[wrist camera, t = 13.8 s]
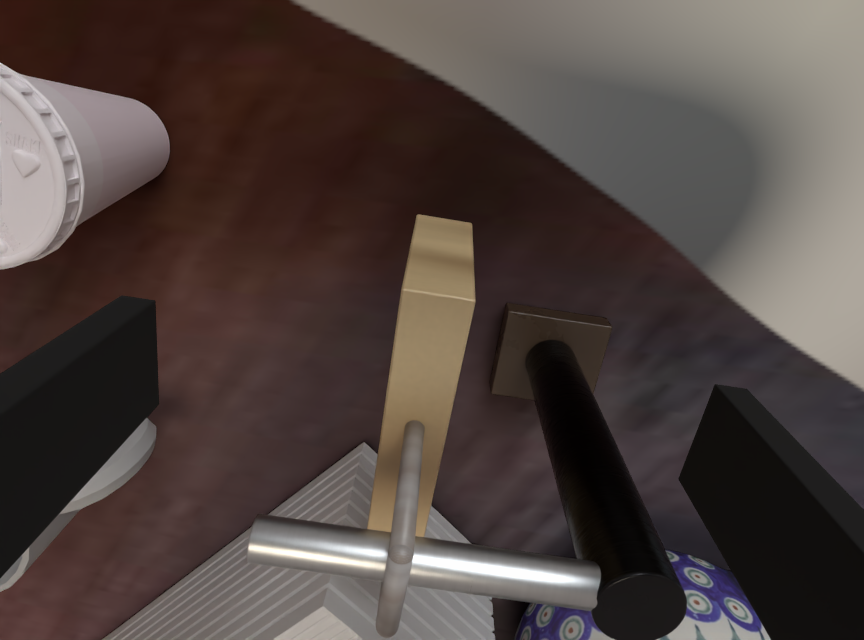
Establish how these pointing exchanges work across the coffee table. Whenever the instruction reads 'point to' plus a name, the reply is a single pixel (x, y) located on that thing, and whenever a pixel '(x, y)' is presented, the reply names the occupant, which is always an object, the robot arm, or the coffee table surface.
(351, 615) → the stack of papers
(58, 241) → the smoothie
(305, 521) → the stand
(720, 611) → the teapot
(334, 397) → the coffee table surface
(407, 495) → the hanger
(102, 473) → the cup
